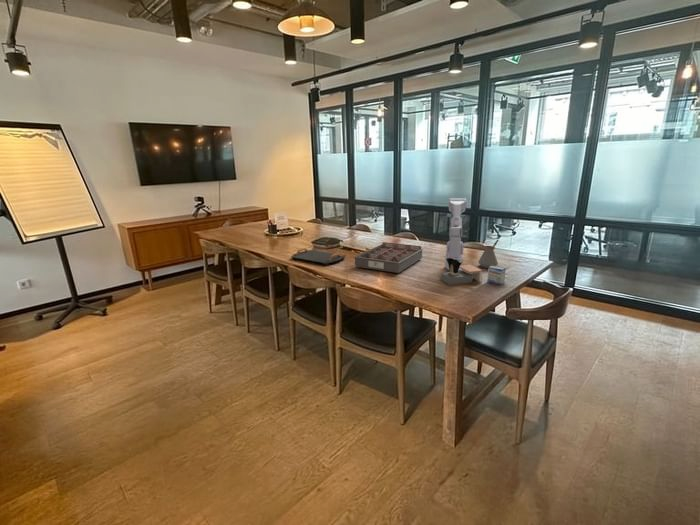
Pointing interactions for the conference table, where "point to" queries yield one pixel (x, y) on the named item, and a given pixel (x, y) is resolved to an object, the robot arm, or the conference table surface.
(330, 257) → the serving board
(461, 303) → the conference table surface
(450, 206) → the robot arm
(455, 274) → the peg
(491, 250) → the coffee pot
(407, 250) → the organizer tray
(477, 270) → the peach slab
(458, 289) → the conference table surface
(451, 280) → the socket block
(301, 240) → the conference table surface
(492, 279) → the medicine box
